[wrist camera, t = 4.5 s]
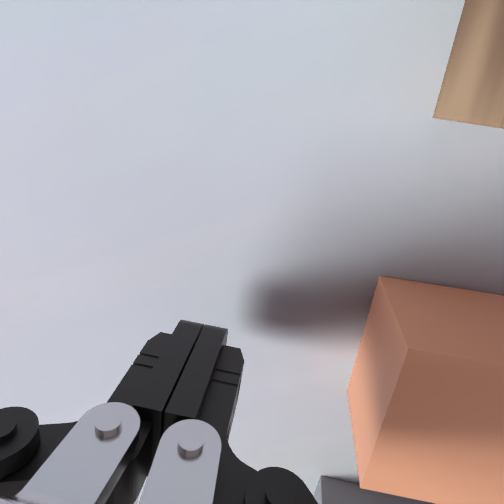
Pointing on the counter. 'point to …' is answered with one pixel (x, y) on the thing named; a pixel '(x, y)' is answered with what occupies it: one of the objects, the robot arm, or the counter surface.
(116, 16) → the counter surface
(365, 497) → the grey block
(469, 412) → the terracotta block
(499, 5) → the walnut block
